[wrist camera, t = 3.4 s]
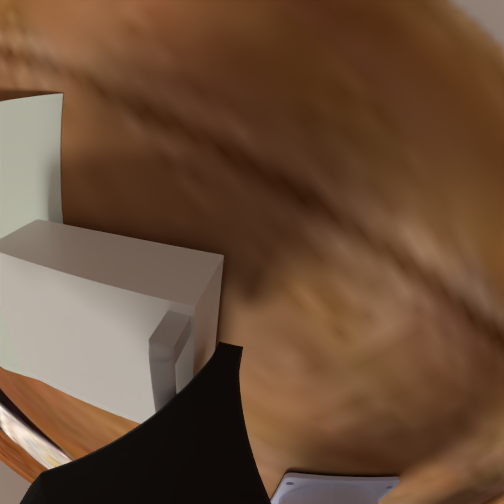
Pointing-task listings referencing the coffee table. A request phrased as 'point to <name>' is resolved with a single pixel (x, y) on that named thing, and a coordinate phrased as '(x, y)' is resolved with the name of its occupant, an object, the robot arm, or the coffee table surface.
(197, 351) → the white box with handle
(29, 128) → the dock
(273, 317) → the coffee table surface
